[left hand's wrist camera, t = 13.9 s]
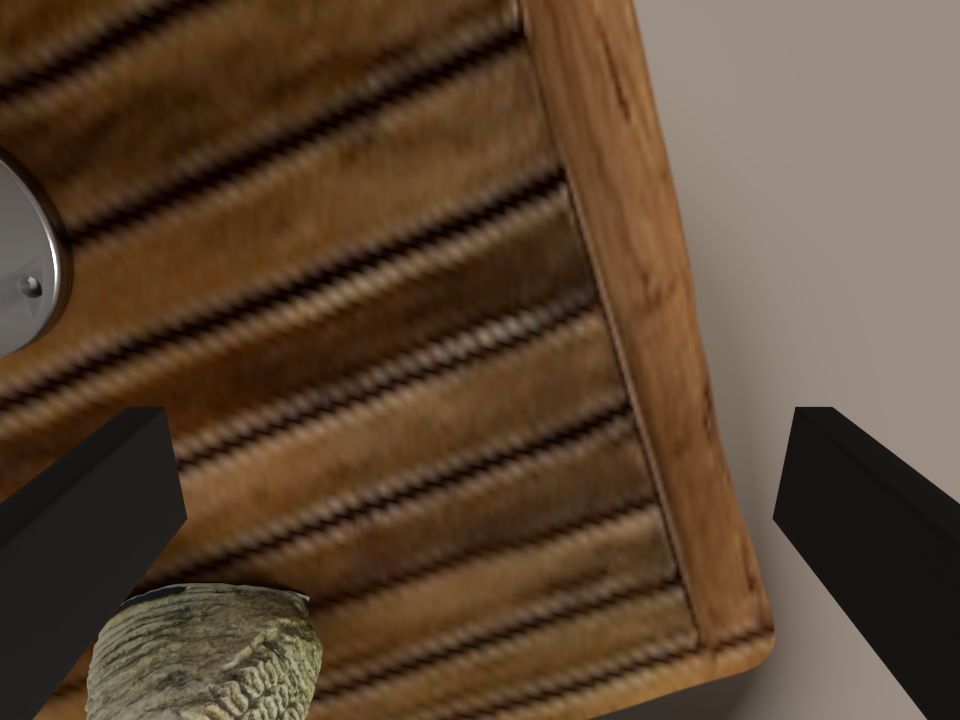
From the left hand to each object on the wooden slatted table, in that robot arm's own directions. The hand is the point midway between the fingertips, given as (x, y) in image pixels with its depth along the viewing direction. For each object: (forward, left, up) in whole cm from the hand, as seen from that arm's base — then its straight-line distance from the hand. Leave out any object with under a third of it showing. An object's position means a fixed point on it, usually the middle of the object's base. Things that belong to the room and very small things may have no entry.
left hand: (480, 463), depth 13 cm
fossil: (-32, -19, -28) cm, 46 cm away
